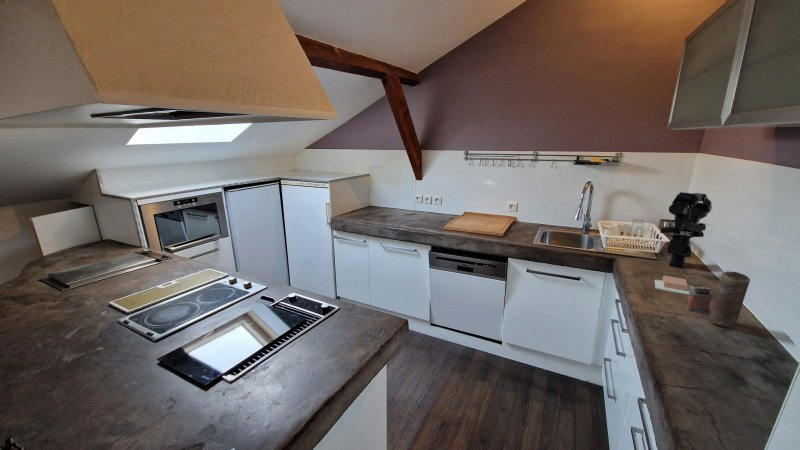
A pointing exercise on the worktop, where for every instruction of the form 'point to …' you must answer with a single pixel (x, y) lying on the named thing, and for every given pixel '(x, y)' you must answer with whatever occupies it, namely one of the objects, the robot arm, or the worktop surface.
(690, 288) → the mat
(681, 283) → the block
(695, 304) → the lighter
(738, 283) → the rusty brown metal cylinder
